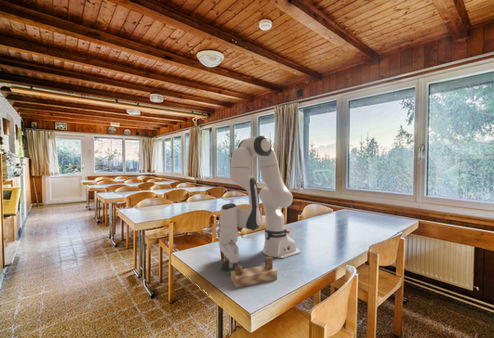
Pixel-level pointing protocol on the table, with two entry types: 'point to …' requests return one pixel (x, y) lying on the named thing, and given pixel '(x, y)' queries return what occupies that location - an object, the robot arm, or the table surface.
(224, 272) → the felt pad
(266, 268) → the plane body
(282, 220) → the robot arm
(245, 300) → the table surface
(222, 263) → the lever cap
